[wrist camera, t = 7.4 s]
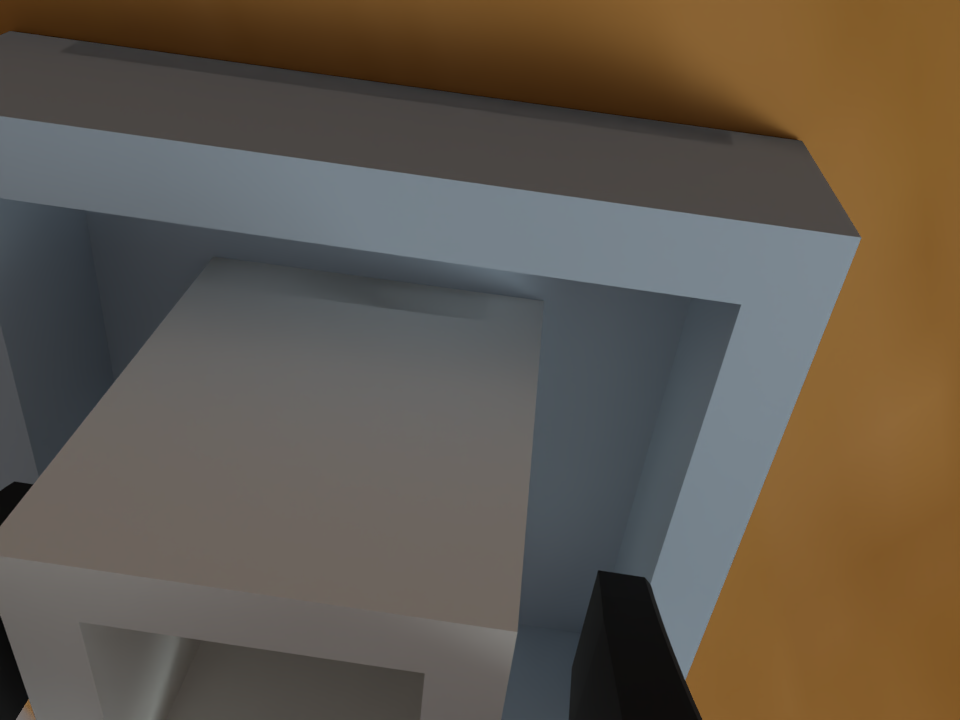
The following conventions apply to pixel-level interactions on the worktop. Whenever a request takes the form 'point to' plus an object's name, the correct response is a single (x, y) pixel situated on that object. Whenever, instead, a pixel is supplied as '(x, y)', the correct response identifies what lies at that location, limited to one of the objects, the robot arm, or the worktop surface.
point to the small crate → (287, 510)
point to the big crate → (440, 284)
